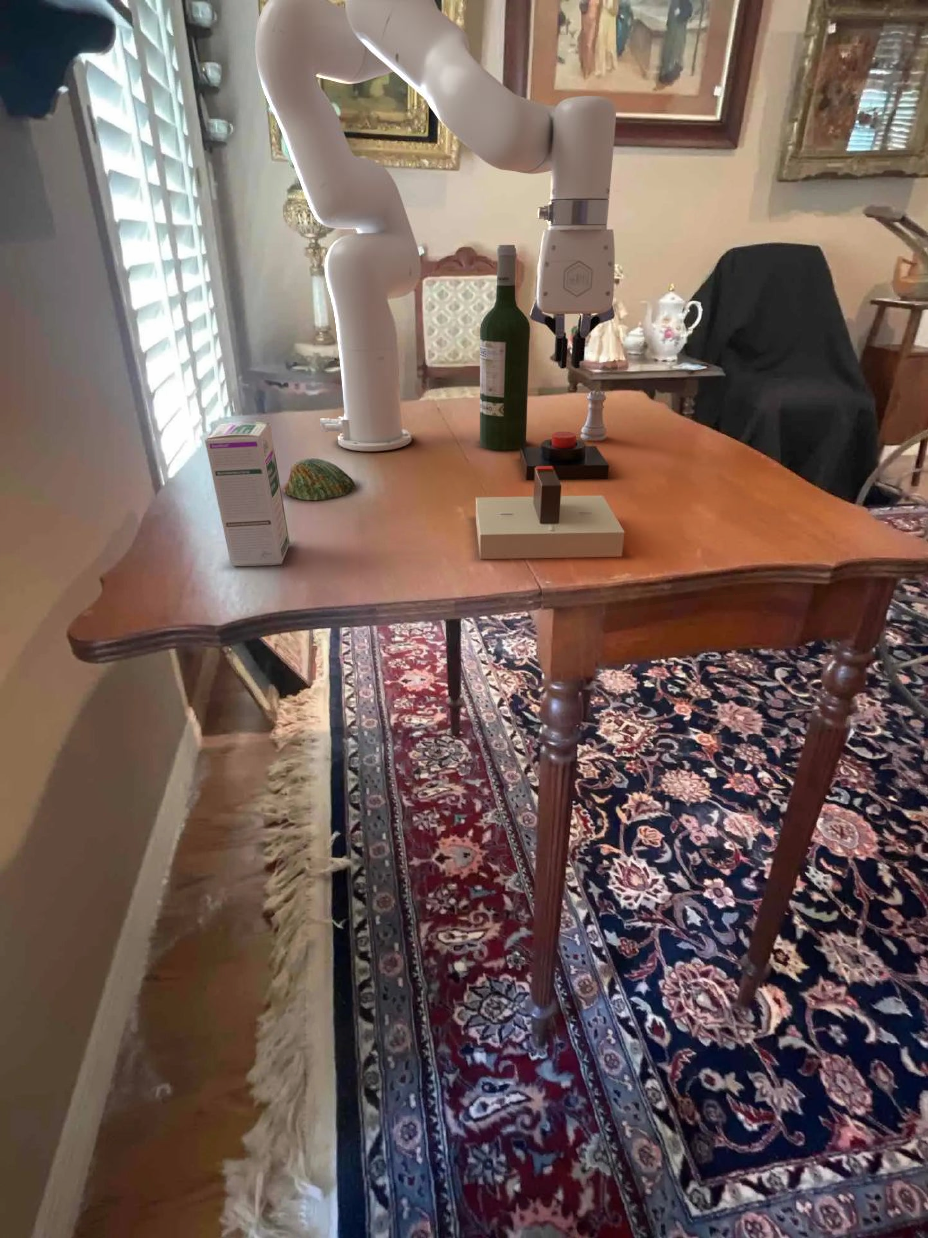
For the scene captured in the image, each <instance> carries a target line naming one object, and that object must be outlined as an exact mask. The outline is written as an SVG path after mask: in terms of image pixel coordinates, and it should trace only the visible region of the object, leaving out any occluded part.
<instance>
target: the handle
mask: <svg viewBox="0 0 928 1238" xmlns="http://www.w3.org/2000/svg"><path fill="white" fill-rule="evenodd" d="M560 481H561V480H559V479H558V477H557V475H556V473H555V471H554V469H553V466H536V468H535V477H534V480H533V497H534V499H533V504H534V507H535V510H536V513H537V516H538V519H539V522H540V523H559V516H560V500H561V496H562V483H561V482H560Z"/></svg>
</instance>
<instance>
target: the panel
mask: <svg viewBox="0 0 928 1238" xmlns="http://www.w3.org/2000/svg"><path fill="white" fill-rule="evenodd" d="M533 499H534V496H480V497H479V496H478V497H475V523H476V524H475V525H476V533H477V542H478V551H479V552H478V553H479V559H480V560H500V559H501V560H502V559H503V560H505V559H506V560H508V559H514V560H515V559H561V558H566V559H567V558H568V559H569V558H570V559H571V558H614V557H616V558H618V557H623V550H624V540H625V530H624V529H623V527H622V525H621V523H620V522H619V520H618V519H617V516H616V515H615V513H614V512H613V510H612V508H611V507H610V505H609V503H608V501H607V500H606V498H605V497H604V495H601V494H600V495H598V494H597V495H561V500H560V516H559V523H540V522H539V519H538V516H537V513H536V510H535V507H534V504H533Z"/></svg>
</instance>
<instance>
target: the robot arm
mask: <svg viewBox="0 0 928 1238" xmlns="http://www.w3.org/2000/svg"><path fill="white" fill-rule="evenodd" d="M254 40H255V41H254V42H255V43H254V50H255V54H254V55H255V64H256V69H257V73H258V76H259V77H258V78H259V81H260V84H261V87H262V89H263V92H264V95H265V96H266V99H267V102H268V105H269V107H270V108H271V111H272V112H273V115H274V117H275V119H276V121H277V124H278V126H279V129H280V131H281V133H282V135H283V138H284V141H285V144H286V146H287V149H288V152H289V155H290V159H291V161H292V163H293V166H294V169H295V172H296V174H297V176H298V180H299V182H300V185H301V188H302V190H303V192H304V196H305V198H306V200H307V203H308V206H309V209H310V210H311V213H312V214H313V216H314V218H315V220H316V221H318V222H319V223H320V224H321V225H323V226H324V227H326V228H330V229H338V230H356V232H357V233H349V234H346V235H343V236H341V237H339V238H338V239H337V240H335V241H334V242H333V244H331V246H330V247H329V249H328V250H327V253H326V257H325V261H324V274H325V280H326V284H327V289H328V293H329V296H330V299H331V304H332V308H333V314H334V318H335V327H336V336H337V348H338V354H339V365H340V375H341V387H342V398H343V409H344V410H343V411H344V413H343V416H338V417H337V418H320V419H319V426H320V427H319V428H320V430H321V431H324V432H325V433H334V432H335V433H336V432H337V433H339V435H338V436H337V443H338V445H339V446H340V447H341V448H344V449H346V450H350V451H357V452H383V451H384V452H385V451H391V450H396V449H400V448H402V447H406V446H407V445H409V444H410V443H411V442H412V433H411V432H410V431H408V430H407V429H404V428H403V426H402V425H403V424H402V407H401V406H402V405H401V388H400V385H401V384H400V367H399V365H400V364H399V349H398V347H399V346H398V335H397V326H396V321H395V319H394V315H393V312H392V309H391V306H390V304H389V300H393V299H398V298H403V297H405V296H407V295H409V294H410V293H412V292H413V291H414V290H415V289H416V287H417V286H418V284H419V282H420V278H421V274H422V261H421V256H420V251H419V248H418V244H417V241H416V238H415V235H414V232H413V230H412V227H411V223H410V220H409V216H408V214H407V212H406V208H405V205H404V202H403V200H402V196H401V194H400V191H399V188H398V186H397V184H396V182H395V180H394V178H393V176H392V175H391V174H390V172H389V171H388V170H387V169H386V168H385V167H384V166H383V165H382V164H381V163H380V162H377V161H376V160H372V159H371V158H365V157H359V156H356V155H355V154H354V153H353V151H352V150H351V147H350V145H349V142H348V139H347V138H346V135H345V132H344V129H343V126H342V122H341V121H340V117H339V115H338V112H337V111H336V109H335V107H334V105H333V104H332V102H331V101H330V99H329V97H328V96H327V95H326V93H325V91H324V90H323V88H322V87H321V85H320V83H319V80H318V78H320V79H324V80H329V81H333V82H337V83H339V84H340V83H341V84H348V85H352V84H358V83H359V84H360V83H363V82H367V81H369V80H373V79H375V78H379V77H382V76H384V75H385V76H386V75H387V74H391V73H395V74H397V75H398V76H399V77H400V78H401V79H402V80H403V81H404V82H406V83H407V84H408V85H409V86H410V87H411V88H413V89H414V91H416V92H417V93H418V94H419V95H420V96H421V97H422V98H423V99H425V100H426V102H427V104H428V106H429V108H430V109H431V111H432V112H433V113H434V115H435V116H436V117H437V119H438V120H439V121H440V123H441V124H442V125H443V126H444V127H445V128H446V129H447V130H448V131H449V132H450V133H451V134H452V135H453V136H454V137H455V138H456V139H458V140H459V141H460V142H461V143H462V144H463V145H464V146H465V147H466V148H468V149H469V150H470V151H472V152H473V153H474V154H475V155H476V156H477V157H478V158H480V159H481V160H482V161H483V162H484V163H486V164H488V165H490V167H493V168H495V169H497V170H500V171H501V170H502V171H509V172H516V173H520V174H526V175H527V174H528V175H529V174H530V175H536V174H543V173H547V172H550V185H549V187H550V189H549V200H550V201H548V203H547V204H546V205H544V206H538V208H537V219H538V220H543V221H546V222H547V225H548V229H543V232H542V235H541V240H540V246H539V253H538V258H537V267H536V278H535V287H534V288H535V289H534V290H535V291H534V301H533V304H532V307H531V309H530V312H529V314H528V315H529V319H530V320H531V321H533V322H536V323H539V324H542V325H544V326H546V327H547V328H548V329H549V330H550V331H551V333H552V334H553V335H554V336H555V339H554V357H553V359H554V362H557V366H558V367H559V369H561V370H563V369H566V368H567V362H568V346H569V345H568V344H569V339H568V338H567V332H565V331H566V328H565V326H566V324H565V323H566V321H565V320H566V315H578V317H577V318H578V319H577V327H576V331H574V334H573V337H572V340H571V341H572V342H571V343H572V344H571V356H570V357H571V358H570V359H571V360H570V365H571V366H572V367H573V368H574V369H580V366H581V362H584V361H585V354H586V353H585V351H586V338H587V337H589V335H590V333H592V332H593V331H594V330H595V329H596V328H597V327H598V326H599V325H601V324H604V323H606V322H609V321H611V320H614V318H615V316H616V314H615V313H616V312H615V309H614V305H613V302H614V294H615V271H616V270H615V267H616V266H615V265H616V263H615V262H616V261H615V260H616V256H615V255H616V254H615V253H616V252H615V251H616V250H615V249H616V248H615V235H614V229H608V219H609V217H608V216H609V205H610V194H611V193H610V192H611V183H612V171H613V170H612V169H613V161H614V160H613V158H614V145H615V135H616V121H617V109H616V104H615V103H614V102H613V100H611V99H610V98H608V97H605V96H599V95H581V96H573V97H568V98H565V99H562V100H561V101H560V102H559V103H558V104H557V105H549V104H544V103H541V102H537V101H536V100H535V101H534V100H532V99H529V98H526V97H523V96H519V95H517V94H515V93H514V92H513V91H511V90H510V89H509V88H508V87H506V86H505V85H504V84H503V83H502V82H500V81H499V80H498V79H497V78H496V77H495V76H494V75H492V74H491V73H490V72H489V71H487V69H485V68H484V66H482V65H481V64H480V63H479V62H478V61H477V60H476V59H475V58H474V57H473V56H472V54H471V53H470V41H469V37H468V34H467V33H466V31H464V29H462V28H461V27H460V26H459V25H458V24H457V23H456V22H454V20H452V19H451V18H450V17H448V15H446V14H445V13H444V12H442V11H441V10H440V9H439V7H438V4H437V2H436V0H344V6H341V5H338V4H336V3H333V2H331V1H329V0H267V1H266V2H265V4H264V6H263V8H262V10H261V12H260V14H259V17H258V21H257V25H256V32H255V39H254ZM549 314H550V315H549ZM551 315H552V316H551Z"/></svg>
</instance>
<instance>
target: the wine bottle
mask: <svg viewBox="0 0 928 1238" xmlns="http://www.w3.org/2000/svg"><path fill="white" fill-rule="evenodd" d="M496 254H497V271H496V289H495V291H496V292H495V302H494V305H493V307H492V308H491V309H490V310H489V311H488V312H487V313H486V314H485V316H484V317H483V318H482V320H481V323H480V328H479V445H480V446H481V448H484V449H486V450H489V451H496V452H510V451H511V452H512V451H518V450H520V447H526V445H527V427H528V426H527V425H528V422H527V421H528V403H529V401H528V399H529V397H528V396H529V370H530V346H531V345H530V343H531V341H530V340H531V325H530V322H529V319H528V317H527V315H525V313H524V312H523V311H522V310H521V309H520V307H519V306H518V305H517V301H516V255H517V249H516V245H515V244H499V245H498V247H497V251H496Z"/></svg>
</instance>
